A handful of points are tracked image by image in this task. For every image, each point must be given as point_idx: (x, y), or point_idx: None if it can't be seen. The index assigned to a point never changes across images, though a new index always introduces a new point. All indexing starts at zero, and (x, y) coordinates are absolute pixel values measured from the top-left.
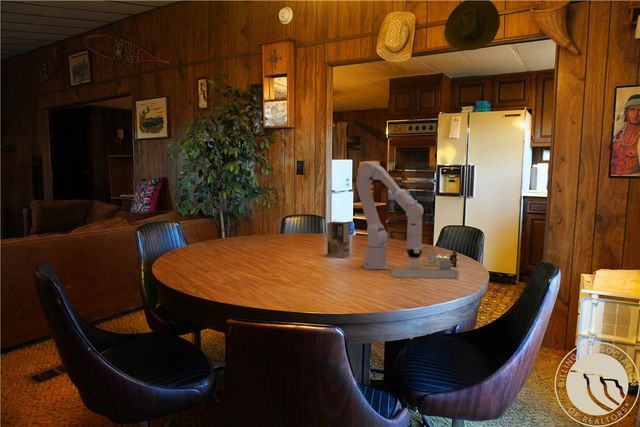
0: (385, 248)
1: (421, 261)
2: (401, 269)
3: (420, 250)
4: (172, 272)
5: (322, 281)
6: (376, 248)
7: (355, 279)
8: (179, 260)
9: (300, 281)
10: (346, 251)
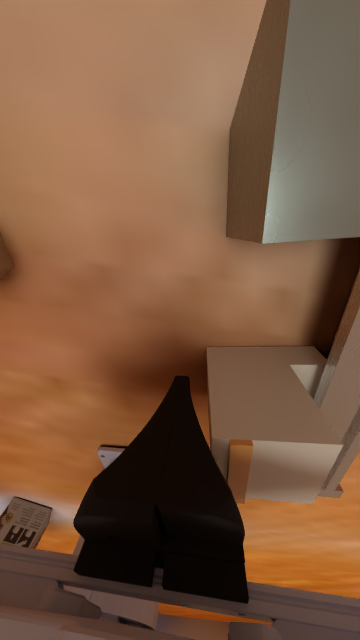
0: (123, 604)
1: (328, 431)
2: (338, 475)
3: (153, 527)
4: (238, 619)
5: (326, 559)
6: (155, 626)
7: (319, 523)
8: (166, 610)
9: (317, 575)
10: (19, 530)
